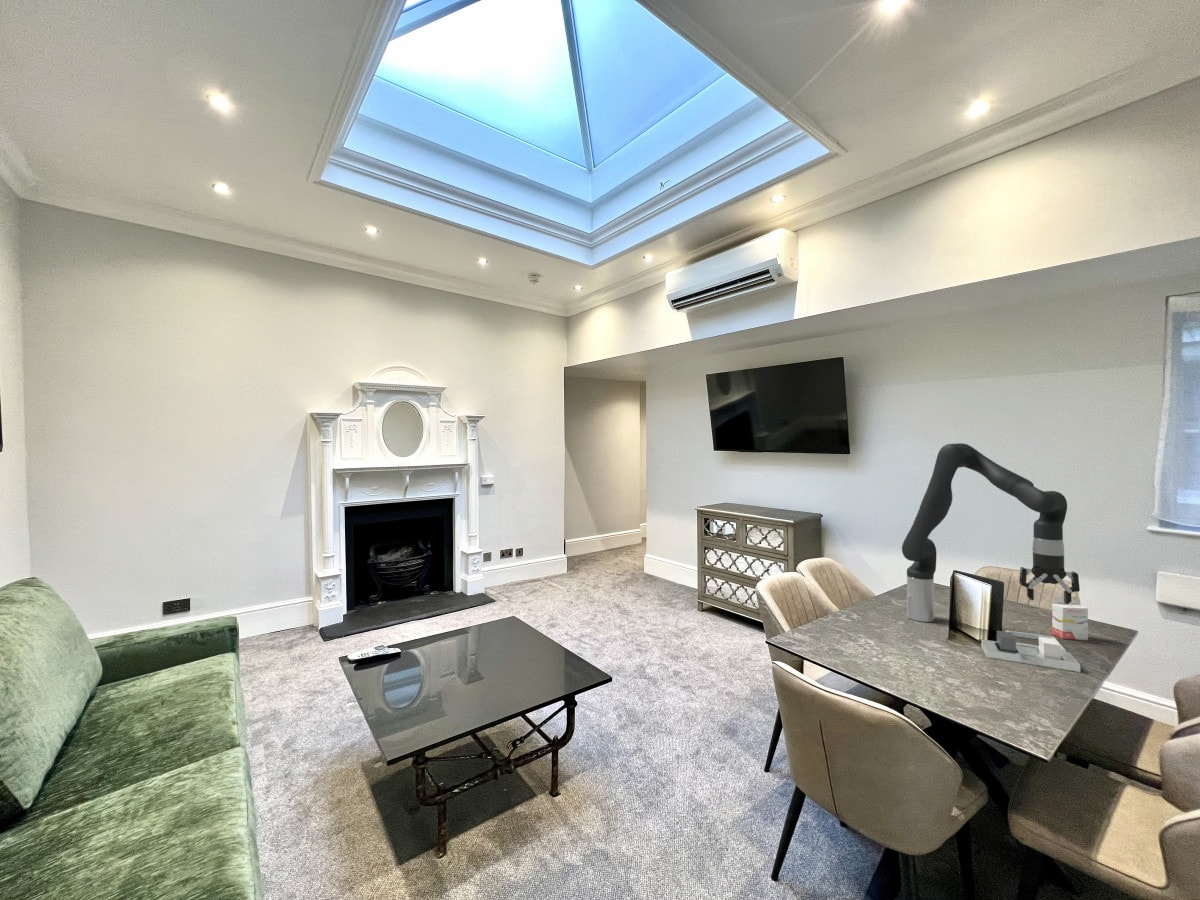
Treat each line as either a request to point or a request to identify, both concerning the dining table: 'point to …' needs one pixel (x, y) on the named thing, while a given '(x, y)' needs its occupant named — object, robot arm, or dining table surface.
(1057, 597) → the ink cartridge box
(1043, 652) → the plug
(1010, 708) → the dining table surface
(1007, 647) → the grey fixture base
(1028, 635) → the tray
